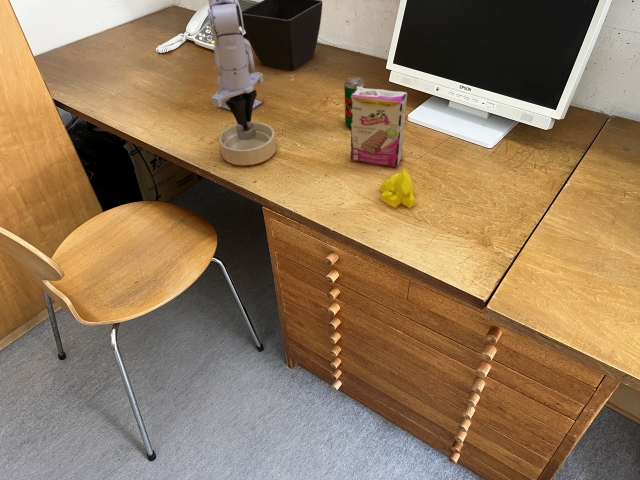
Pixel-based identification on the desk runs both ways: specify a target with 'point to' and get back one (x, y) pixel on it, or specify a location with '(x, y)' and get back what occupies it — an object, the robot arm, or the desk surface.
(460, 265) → the desk surface
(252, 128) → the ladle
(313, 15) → the flower pot
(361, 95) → the candy bar box
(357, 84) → the soda can
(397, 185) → the yellow faceted lump
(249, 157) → the bowl
